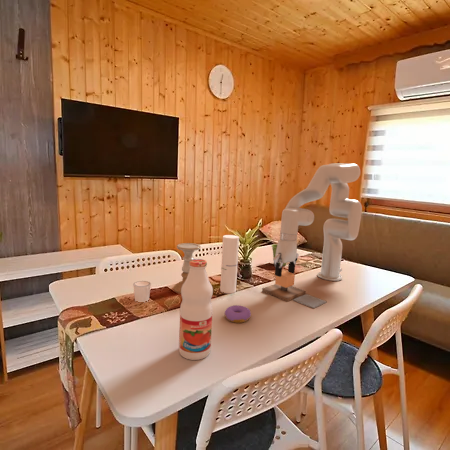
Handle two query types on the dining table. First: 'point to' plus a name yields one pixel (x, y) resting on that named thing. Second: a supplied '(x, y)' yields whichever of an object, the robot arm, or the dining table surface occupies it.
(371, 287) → the dining table surface
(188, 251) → the candle holder
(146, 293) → the shot glass
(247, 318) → the donut
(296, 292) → the post stand
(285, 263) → the plant pot
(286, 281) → the orange bevelled cube
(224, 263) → the cylindrical container
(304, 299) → the rubber pad
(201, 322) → the fruit juice
